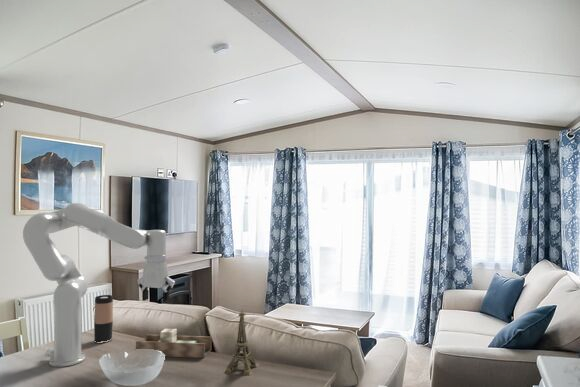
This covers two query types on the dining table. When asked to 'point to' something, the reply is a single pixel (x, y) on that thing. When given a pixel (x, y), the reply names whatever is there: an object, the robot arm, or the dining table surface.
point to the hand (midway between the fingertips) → (155, 300)
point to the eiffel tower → (244, 354)
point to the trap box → (178, 346)
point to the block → (168, 335)
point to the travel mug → (103, 318)
